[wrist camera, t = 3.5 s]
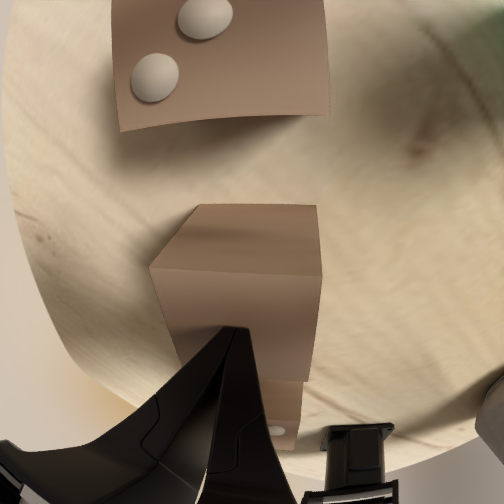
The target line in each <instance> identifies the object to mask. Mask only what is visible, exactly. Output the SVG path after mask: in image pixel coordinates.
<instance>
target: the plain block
mask: <svg viewBox="0 0 504 504" xmlns="http://www.w3.org/2000/svg"><path fill="white" fill-rule="evenodd" d="M148 268H149V271H150V275H151V278H152V281H153V284H154V288H155V291H156V294H157V297H158V300H159V303H160V306H161V309H162V312H163V315H164V318H165V321H166V324H167V327H168V329H169V332H170V335H171V338H172V340H173V343H174V346H175V348H176V351H177V354H178V356H179V359H180V361H181V364H182V366H184V365H185V364H186V363H187V362H188V361H189V360H190V359H191V358H192V357H193V356H195V355H196V354H197V353H198V352H199V351H200V350H201V349H202V348H203V347H204V346H205V345H206V344H207V343H208V342H209V341H210V340H211V339H212V338H213V337H214V336H215V335H216V334H217V333H218V332H219V331H220V330H221V329H222V328H223V327H224V326H229V327H236V328H239V327H240V328H248V329H249V330H250V334H251V340H252V345H253V351H254V356H255V361H256V367H257V372H258V377H259V379H270V380H284V381H303V382H308V378H309V372H310V366H311V360H312V354H313V347H314V340H315V333H316V326H317V319H318V311H319V302H320V294H321V285H322V264H321V251H320V239H319V228H318V218H317V209H316V205H293V204H200V205H199V206H198V207H197V208H196V210H195V211H194V212H193V213H192V214H191V215H190V217H189V218H188V219H187V220H186V221H185V223H184V224H183V225H182V226H181V227H180V229H179V230H178V231H177V232H176V233H175V235H174V236H173V237H172V238H171V240H170V241H169V242H168V243H167V245H166V246H165V247H164V248H163V250H162V251H161V252H160V253H159V255H158V256H157V257H156V258H155V260H154V261H153V262H152V263H151V265H150V266H149V267H148Z"/></svg>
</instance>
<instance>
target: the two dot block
mask: <svg viewBox="0 0 504 504" xmlns="http://www.w3.org/2000/svg"><path fill="white" fill-rule="evenodd" d="M259 382H260V388H261V393H262V398H263V403H264V408H265V414H266V418H267V423H268V427H269V431H270V436H271V439H272V442H273V445H274V448H275V450H289V451H293V450H294V446H295V442H296V438H297V433H298V429H299V425H300V417H301V405H302V392H303V381H284V380H270V379H259Z"/></svg>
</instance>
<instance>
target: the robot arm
mask: <svg viewBox="0 0 504 504" xmlns="http://www.w3.org/2000/svg"><path fill="white" fill-rule="evenodd" d="M394 429H395V426H394V424H384V425H371V426H350V427H331V428H329V429H328V431H327V433H326V436H325V438H324V440H323V442H322V444H321V446H320V451H327V462H326V476H325V489H324V491H318V492H317V491H316V492H312V491H305V493H304V497H303V498H302V501H301V504H323V502H329V501H341V500H351V499H359V498H366V497H373V496H378V495H384V494H389V493H392V497H387V498H385V497H378V498H372V499H366V500H360V501H352V502H341V503H331V504H399V481H398V479H396V480H393V481H391V482H386V483H385V461H384V440H385V439H386V438H387V437H388V436H389V434H390V433H391V432H392V431H393V430H394ZM206 469H207V472H206ZM205 472H206V473H207V475H206V479H205V483H204V487H203V491H202V493H201V496H200V498H199V501H198V503H197V504H297V502H296V500H295V498H294V496H293V493H292V491H291V489H290V487H289V484H288V482H287V479H286V477H285V474H284V472H283V469H282V467H281V464H280V462H279V459H278V457H277V454H276V451H275V448H274V445H273V442H272V439H271V436H270V431H269V427H268V423H267V418H266V414H265V408H264V403H263V398H262V393H261V388H260V382H259V377H258V372H257V367H256V361H255V356H254V351H253V345H252V340H251V334H250V330H249V329H248V328H240V327H239V328H236V327H229V326H224V327H223V328H222V329H221V330H220V331H219V332H218V333H217V334H216V335H215V336H214V337H213V338H212V339H211V340H210V341H209V342H208V343H207V344H206V345H205V346H204V347H203V348H202V349H201V350H200V351H199V352H198V353H197V354H196V355H195V356H193V357H192V358H191V359H190V360H189V361H188V362H187V363H186V364H185V365H184V366H183V367H182V368H181V369H180V370H179V371H178V372H177V373H176V374H175V375H174V376H173V377H172V378H171V379H170V380H169V381H168V382H167V383H166V384H165V385H163V386H162V387H161V388H160V389H159V390H158V391H157V392H156V394H154V395H153V396H152V397H151V398H150V399H149V400H147V401H146V402H145V403H144V404H143V405H142V406H141V407H140V408H138V409H137V410H136V411H135V412H134V413H132V414H131V415H130V416H128V417H127V418H126V419H124V420H123V421H122V422H120V423H119V424H118V425H116V426H115V427H113V428H112V429H110V430H109V431H107V432H106V433H105V434H103V435H102V436H100V437H99V438H97V439H96V440H94V441H92V442H90V443H88V444H85V445H82V446H77V447H71V448H64V449H56V450H48V451H38V452H26V451H23V450H21V449H20V448H19V447H17V446H16V445H14V444H13V443H11V442H10V441H9V440H1V441H0V504H195V501H196V499H197V496H198V492H199V490H200V487H201V484H202V481H203V477H204V475H205ZM329 504H330V503H329Z"/></svg>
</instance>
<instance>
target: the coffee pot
mask: <svg viewBox="0 0 504 504" xmlns="http://www.w3.org/2000/svg"><path fill="white" fill-rule="evenodd" d="M475 429H476V432H477V433H478V435H479V436H480V437H481V438H482V439H483V440H484V442H485V443H486V444H487V445H488V446H489V448H490V449H491V450H492V451H493V452H494V454H495V455H496V456H497V457H498V459H499V460H500V461H501V462H502V464H503V465H504V375H503V376H502V377H501V378H500V379H499V380H498V381H496V382H495V384H494V385H493V386H492V387H491V388H490V389H489V391H488V392H487V394H486V396H485V401H484V402H483V403H482V405H481V407H480V410H479V412H478V414H477V417H476V422H475Z"/></svg>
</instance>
